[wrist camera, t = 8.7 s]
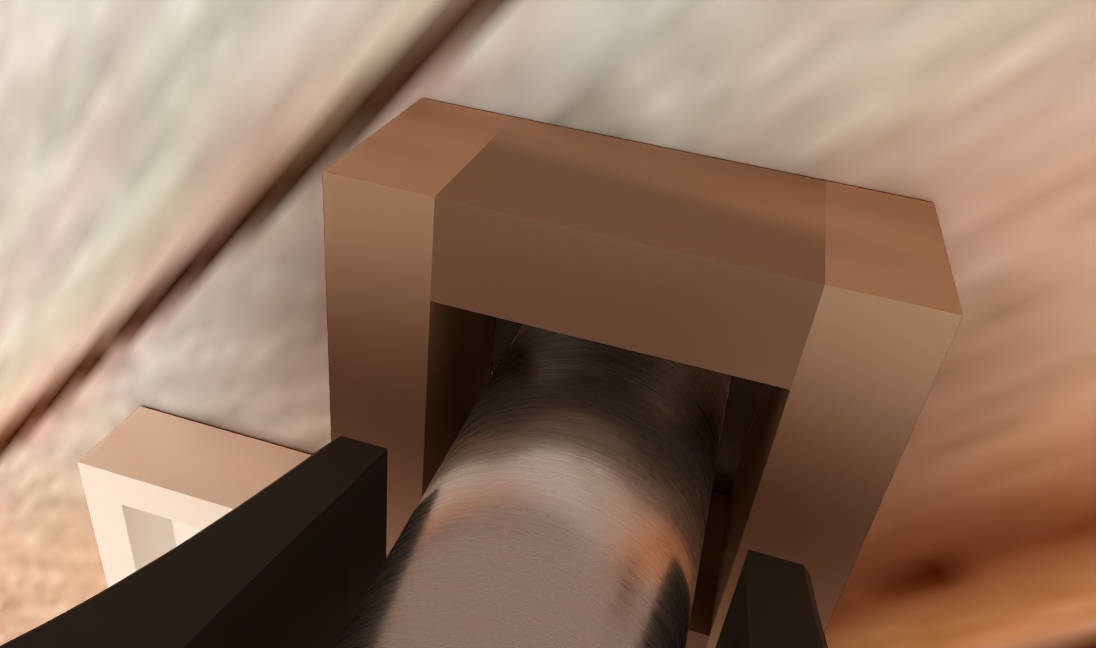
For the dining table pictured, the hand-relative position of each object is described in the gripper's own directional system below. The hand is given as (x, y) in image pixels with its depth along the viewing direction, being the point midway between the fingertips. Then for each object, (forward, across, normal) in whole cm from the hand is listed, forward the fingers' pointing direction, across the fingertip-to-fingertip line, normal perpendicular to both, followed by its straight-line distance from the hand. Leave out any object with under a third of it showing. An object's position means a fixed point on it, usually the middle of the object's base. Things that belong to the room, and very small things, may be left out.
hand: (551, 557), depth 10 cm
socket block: (+4, 0, 0) cm, 4 cm away
